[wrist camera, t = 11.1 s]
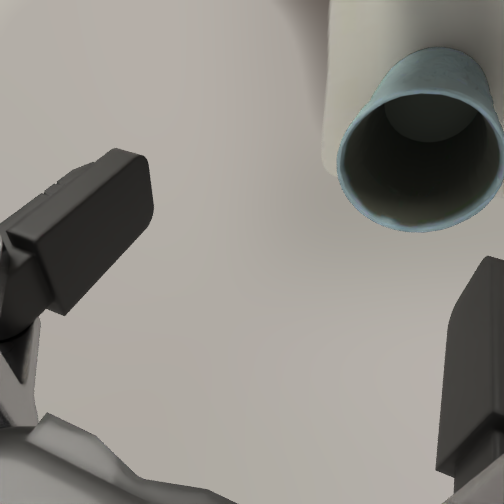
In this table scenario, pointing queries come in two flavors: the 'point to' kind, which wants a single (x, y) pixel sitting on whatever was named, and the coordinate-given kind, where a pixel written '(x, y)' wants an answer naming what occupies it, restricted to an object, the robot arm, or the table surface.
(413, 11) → the table surface
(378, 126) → the blue plant pot
